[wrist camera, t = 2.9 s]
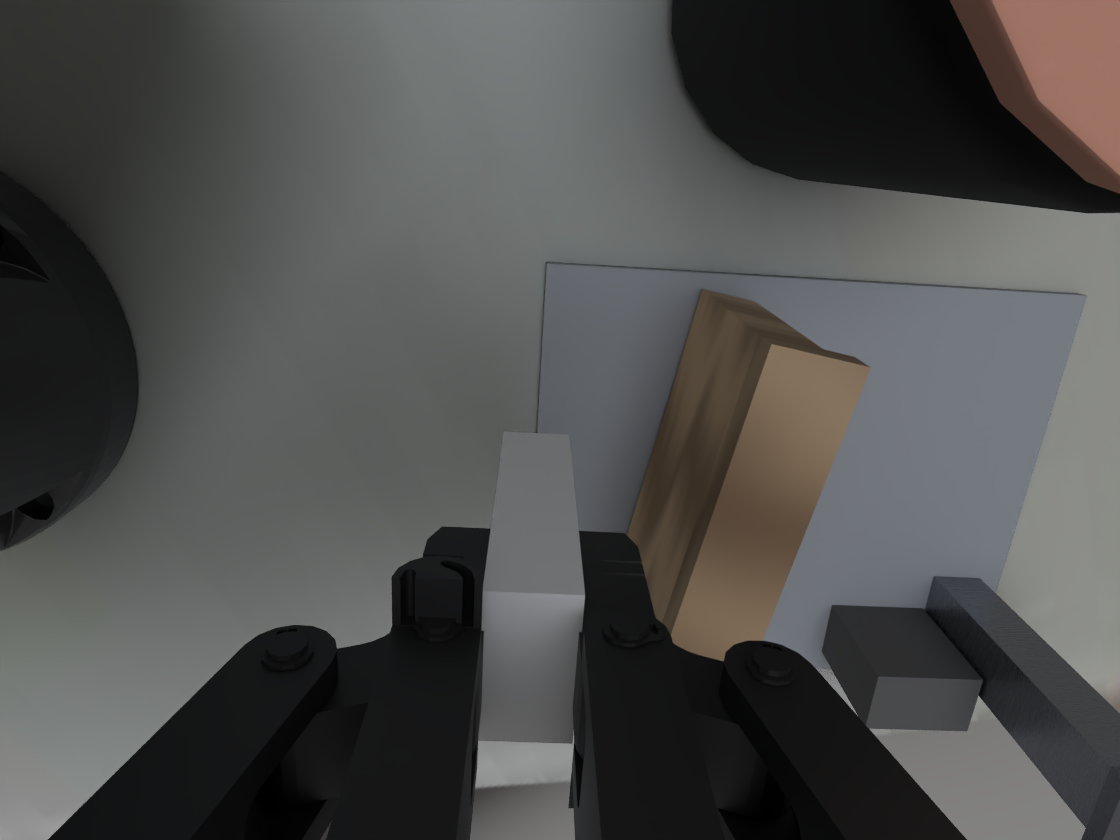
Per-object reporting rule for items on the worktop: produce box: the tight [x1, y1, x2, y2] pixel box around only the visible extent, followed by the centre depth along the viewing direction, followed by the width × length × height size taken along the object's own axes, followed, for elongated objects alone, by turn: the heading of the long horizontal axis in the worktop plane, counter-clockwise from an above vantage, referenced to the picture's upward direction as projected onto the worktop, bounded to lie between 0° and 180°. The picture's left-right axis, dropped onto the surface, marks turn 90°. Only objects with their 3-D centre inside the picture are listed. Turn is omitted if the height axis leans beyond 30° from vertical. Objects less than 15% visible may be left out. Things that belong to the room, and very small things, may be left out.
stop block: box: [822, 605, 983, 731], centre depth 30 cm, size 4×2×5 cm, turn 86°
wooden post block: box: [627, 289, 871, 661], centre depth 24 cm, size 11×3×9 cm, turn 166°
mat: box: [537, 262, 1087, 669], centre depth 30 cm, size 20×17×1 cm
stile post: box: [925, 576, 1120, 840], centre depth 27 cm, size 3×3×12 cm
